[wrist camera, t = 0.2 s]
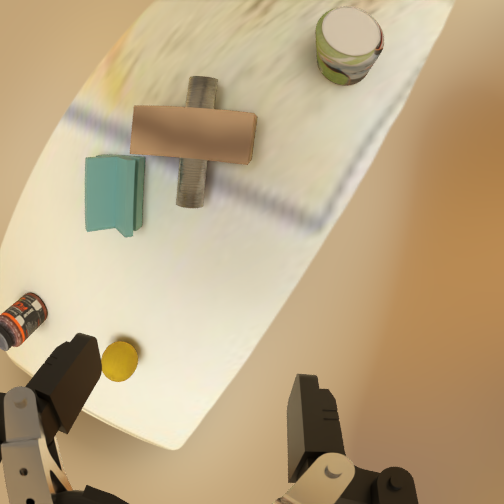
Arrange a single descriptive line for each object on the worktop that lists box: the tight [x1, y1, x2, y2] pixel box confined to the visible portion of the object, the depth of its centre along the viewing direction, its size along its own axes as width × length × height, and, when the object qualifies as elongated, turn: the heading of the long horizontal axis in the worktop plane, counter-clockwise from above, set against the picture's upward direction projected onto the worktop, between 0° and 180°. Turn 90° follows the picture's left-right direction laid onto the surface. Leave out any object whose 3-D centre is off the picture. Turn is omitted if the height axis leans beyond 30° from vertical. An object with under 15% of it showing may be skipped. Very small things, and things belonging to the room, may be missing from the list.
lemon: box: [101, 341, 138, 382], centre depth 43 cm, size 6×6×8 cm
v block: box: [85, 155, 145, 237], centre depth 36 cm, size 9×7×5 cm
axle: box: [176, 76, 218, 208], centre depth 32 cm, size 14×3×3 cm, turn 172°
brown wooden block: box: [130, 106, 257, 165], centre depth 33 cm, size 10×12×7 cm
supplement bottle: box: [0, 293, 47, 351], centre depth 41 cm, size 6×6×11 cm
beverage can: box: [316, 6, 384, 85], centre depth 25 cm, size 6×7×12 cm
